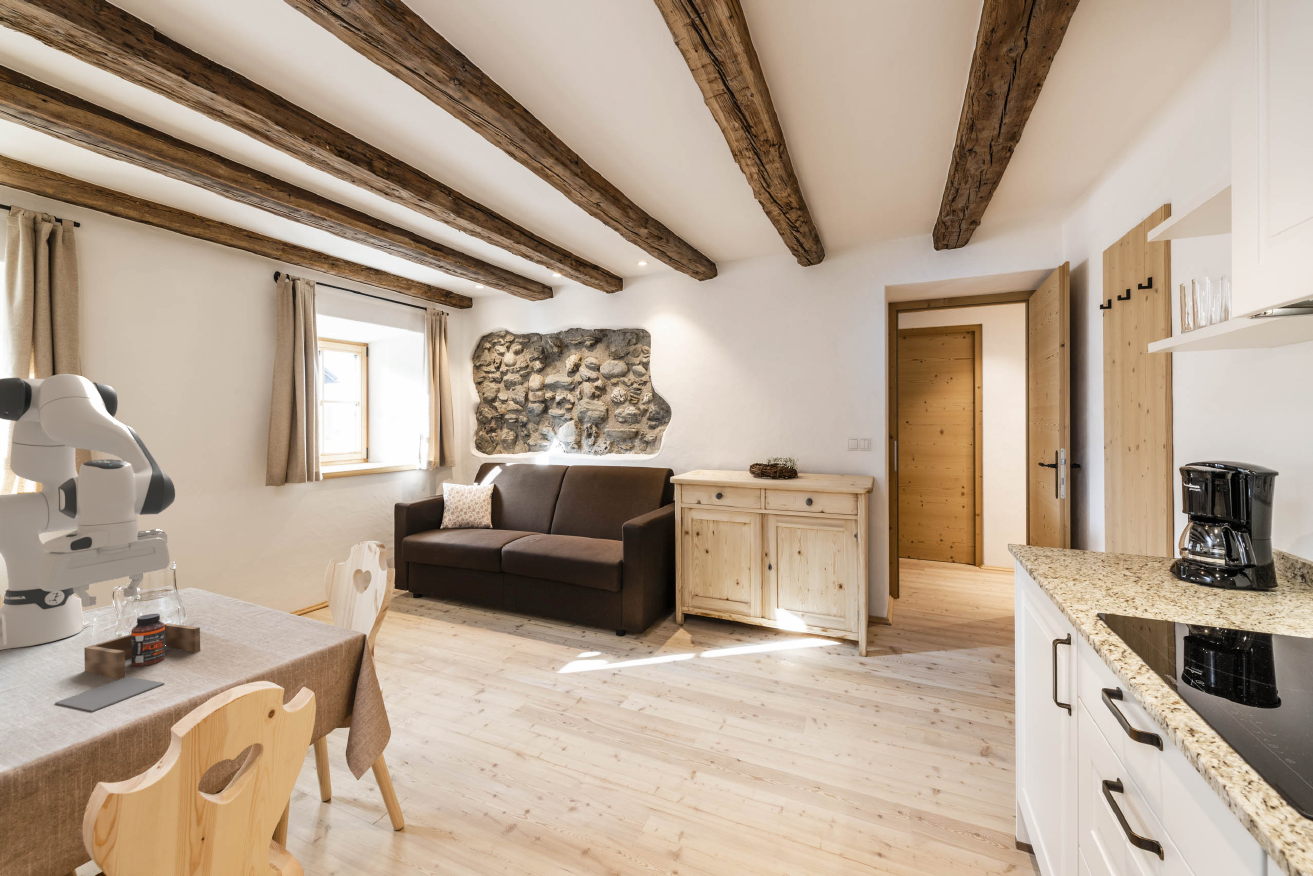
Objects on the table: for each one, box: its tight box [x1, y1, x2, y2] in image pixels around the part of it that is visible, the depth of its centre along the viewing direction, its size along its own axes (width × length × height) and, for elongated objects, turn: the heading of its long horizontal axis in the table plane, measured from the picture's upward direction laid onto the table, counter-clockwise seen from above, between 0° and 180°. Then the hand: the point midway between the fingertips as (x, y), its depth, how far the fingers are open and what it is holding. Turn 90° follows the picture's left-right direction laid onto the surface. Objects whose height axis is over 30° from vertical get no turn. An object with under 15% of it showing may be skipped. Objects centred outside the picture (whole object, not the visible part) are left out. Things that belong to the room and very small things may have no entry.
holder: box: [83, 622, 201, 680], centre depth 128 cm, size 12×16×6 cm
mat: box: [54, 676, 165, 713], centre depth 112 cm, size 12×12×1 cm
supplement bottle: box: [130, 613, 166, 667], centre depth 127 cm, size 6×6×11 cm
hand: (110, 600), depth 111 cm, fingers open, 5 cm apart
